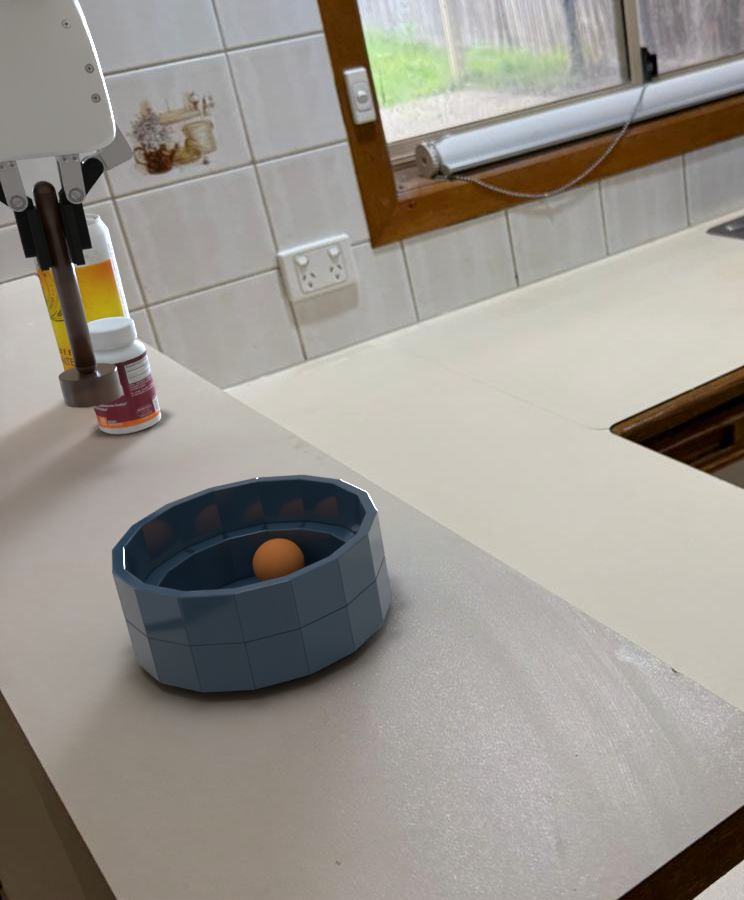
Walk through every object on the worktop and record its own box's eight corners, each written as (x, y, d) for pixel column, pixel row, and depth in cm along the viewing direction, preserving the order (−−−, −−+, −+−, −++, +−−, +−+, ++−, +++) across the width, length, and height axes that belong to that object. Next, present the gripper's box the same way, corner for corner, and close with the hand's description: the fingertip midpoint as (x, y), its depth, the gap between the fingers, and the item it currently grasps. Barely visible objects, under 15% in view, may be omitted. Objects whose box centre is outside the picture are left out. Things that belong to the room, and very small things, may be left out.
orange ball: (251, 599, 63) (241, 555, 62) (265, 574, 66) (256, 531, 65) (301, 596, 63) (292, 552, 62) (313, 571, 66) (305, 528, 65)
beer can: (70, 390, 100) (23, 220, 94) (142, 375, 103) (101, 209, 97) (75, 411, 95) (26, 233, 89) (151, 394, 98) (108, 220, 92)
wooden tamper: (55, 409, 79) (-2, 187, 73) (79, 390, 82) (26, 177, 76) (109, 406, 79) (57, 184, 73) (131, 388, 82) (82, 174, 76)
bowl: (98, 709, 56) (66, 604, 53) (189, 573, 68) (166, 482, 65) (365, 694, 55) (345, 587, 53) (409, 560, 67) (394, 468, 65)
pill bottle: (86, 433, 90) (58, 332, 87) (128, 411, 94) (103, 313, 91) (134, 437, 89) (108, 335, 85) (174, 414, 93) (151, 315, 89)
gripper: (115, -37, 76) (170, 237, 83) (-156, -25, 69) (-70, 273, 76) (133, -40, 70) (191, 255, 77) (-162, -27, 63) (-68, 296, 70)
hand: (61, 262), depth 77 cm, fingers closed on wooden tamper, 1 cm apart
